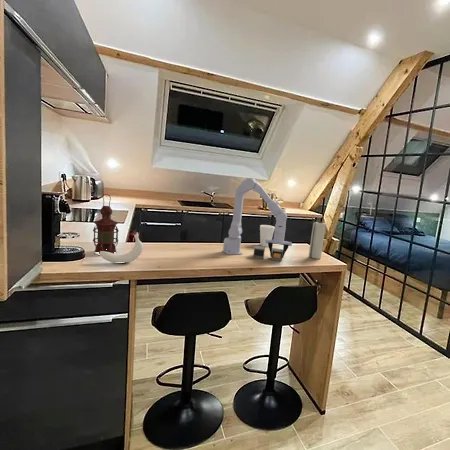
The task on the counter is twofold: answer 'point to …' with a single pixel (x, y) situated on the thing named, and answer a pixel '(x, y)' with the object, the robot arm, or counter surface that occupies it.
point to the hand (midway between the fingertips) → (276, 256)
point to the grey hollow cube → (259, 252)
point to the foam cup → (266, 234)
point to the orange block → (277, 254)
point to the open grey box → (277, 251)
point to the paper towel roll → (317, 240)
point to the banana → (125, 257)
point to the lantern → (106, 231)
